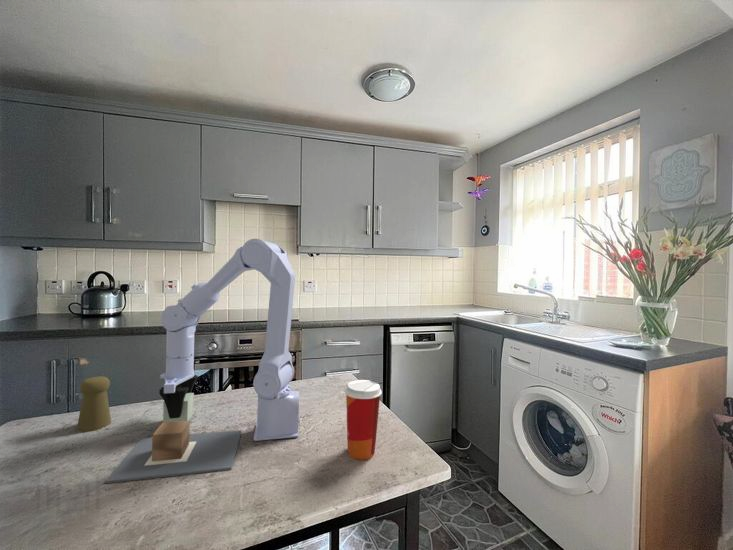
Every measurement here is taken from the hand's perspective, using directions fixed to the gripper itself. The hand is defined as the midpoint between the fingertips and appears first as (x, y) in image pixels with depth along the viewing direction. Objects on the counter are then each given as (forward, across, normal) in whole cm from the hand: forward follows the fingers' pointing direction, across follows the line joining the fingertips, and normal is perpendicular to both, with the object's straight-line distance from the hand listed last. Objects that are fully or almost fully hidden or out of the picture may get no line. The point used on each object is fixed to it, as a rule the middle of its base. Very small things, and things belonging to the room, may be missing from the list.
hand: (179, 412), depth 76 cm
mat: (+3, +14, +5) cm, 15 cm away
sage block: (+2, 0, 0) cm, 2 cm away
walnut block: (+2, +14, +3) cm, 14 cm away
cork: (+3, -2, -18) cm, 18 cm away
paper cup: (+3, +20, +40) cm, 45 cm away
